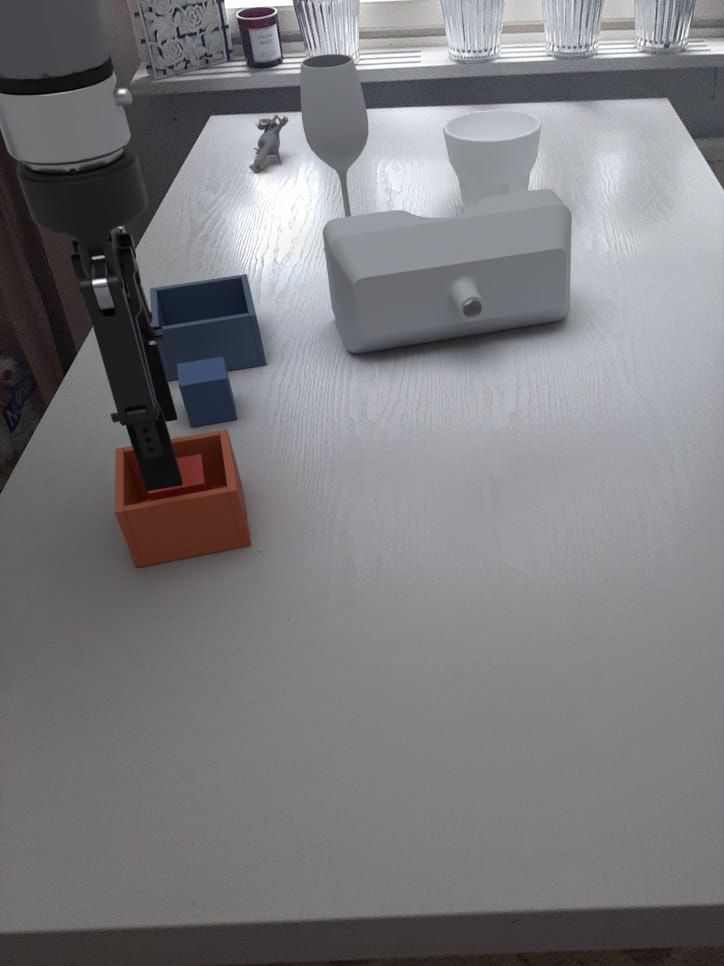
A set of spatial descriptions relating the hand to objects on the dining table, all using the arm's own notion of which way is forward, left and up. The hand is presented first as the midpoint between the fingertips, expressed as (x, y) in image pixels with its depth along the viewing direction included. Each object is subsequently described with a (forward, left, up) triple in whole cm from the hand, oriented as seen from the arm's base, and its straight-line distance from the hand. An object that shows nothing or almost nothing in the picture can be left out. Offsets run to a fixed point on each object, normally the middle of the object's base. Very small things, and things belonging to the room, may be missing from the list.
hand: (162, 451), depth 78 cm
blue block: (+3, +18, -7) cm, 20 cm away
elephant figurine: (+17, +89, -7) cm, 91 cm away
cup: (+43, +57, -7) cm, 72 cm away
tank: (+30, +26, -7) cm, 41 cm away
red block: (0, 0, -7) cm, 7 cm away
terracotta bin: (0, 0, -7) cm, 7 cm away
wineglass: (+23, +53, -7) cm, 58 cm away
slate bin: (+4, +31, -7) cm, 32 cm away
